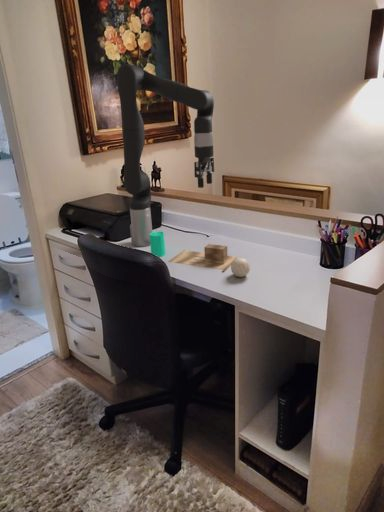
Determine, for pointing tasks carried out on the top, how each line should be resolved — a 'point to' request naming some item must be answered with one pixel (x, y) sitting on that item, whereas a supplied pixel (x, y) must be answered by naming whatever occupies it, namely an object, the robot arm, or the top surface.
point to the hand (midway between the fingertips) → (205, 185)
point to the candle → (157, 243)
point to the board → (200, 260)
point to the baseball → (240, 267)
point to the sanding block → (215, 253)
